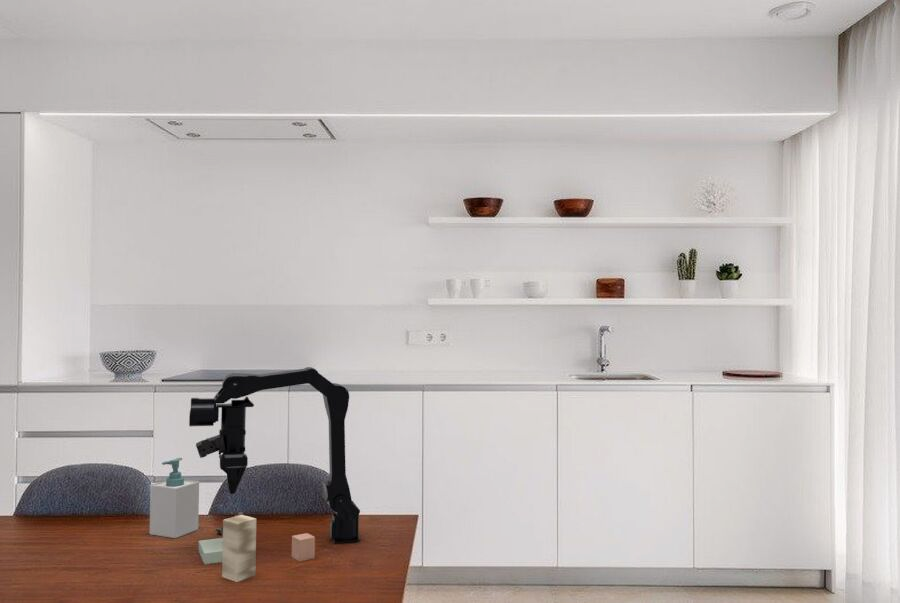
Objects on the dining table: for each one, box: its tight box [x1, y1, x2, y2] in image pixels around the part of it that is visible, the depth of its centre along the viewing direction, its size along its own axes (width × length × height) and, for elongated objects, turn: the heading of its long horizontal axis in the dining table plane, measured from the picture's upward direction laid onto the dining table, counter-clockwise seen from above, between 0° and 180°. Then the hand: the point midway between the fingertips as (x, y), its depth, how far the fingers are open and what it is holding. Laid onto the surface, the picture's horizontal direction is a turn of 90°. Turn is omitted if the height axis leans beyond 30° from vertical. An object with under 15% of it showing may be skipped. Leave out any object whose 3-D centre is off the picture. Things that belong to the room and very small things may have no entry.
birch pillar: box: [221, 514, 257, 583], centre depth 161 cm, size 5×5×12 cm
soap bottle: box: [149, 457, 200, 539], centre depth 192 cm, size 9×9×19 cm
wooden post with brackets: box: [215, 511, 243, 536], centre depth 193 cm, size 2×8×4 cm, turn 144°
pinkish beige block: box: [291, 532, 316, 563], centre depth 173 cm, size 4×4×5 cm
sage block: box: [198, 537, 223, 565], centre depth 174 cm, size 10×10×3 cm
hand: (231, 489), depth 179 cm, fingers open, 9 cm apart
